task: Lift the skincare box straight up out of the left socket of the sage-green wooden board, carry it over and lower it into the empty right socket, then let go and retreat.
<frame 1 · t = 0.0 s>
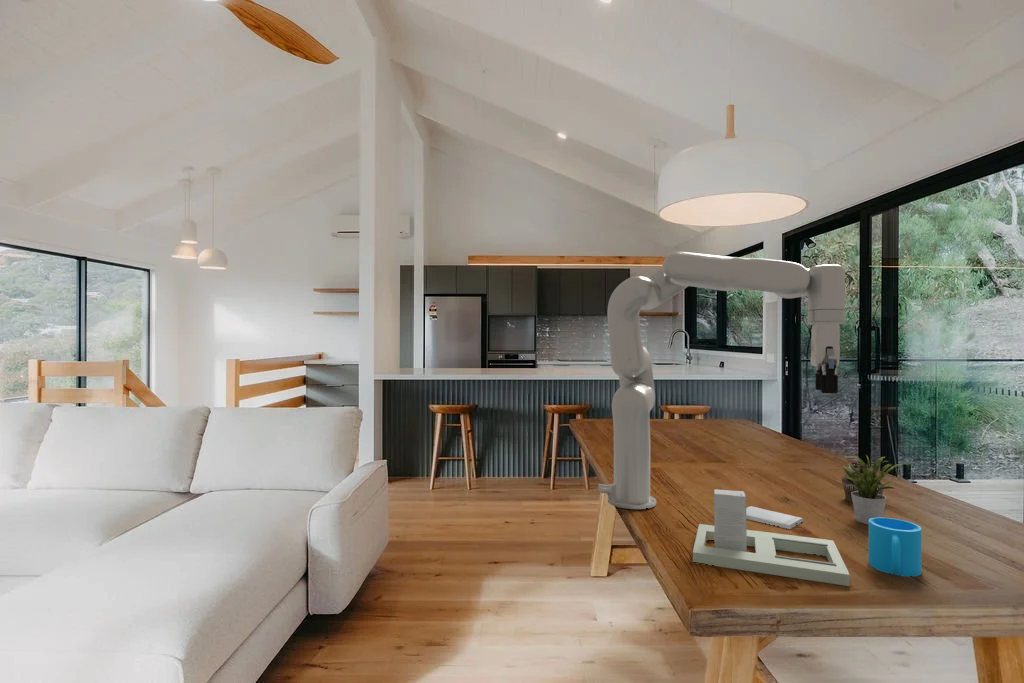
hand: (826, 391, 126), 31 cm above the table, tool pointing down, fingers open, 9 cm apart
socket board: (765, 556, 107), on the table
cupcake: (862, 501, 146), on the table
house plant: (874, 522, 129), on the table
skincare box: (729, 552, 110), resting in socket board
hard drive: (769, 522, 130), on the table
mug: (894, 572, 101), on the table
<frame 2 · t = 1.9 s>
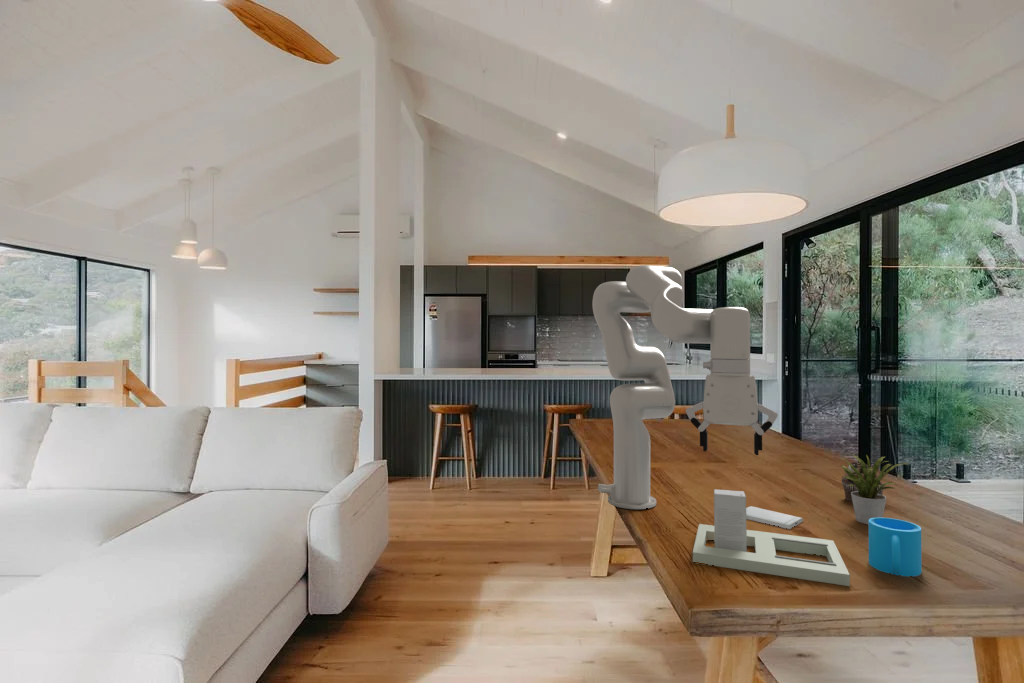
hand: (730, 452, 110), 20 cm above the table, tool pointing down, fingers open, 9 cm apart
nothing on the table moved.
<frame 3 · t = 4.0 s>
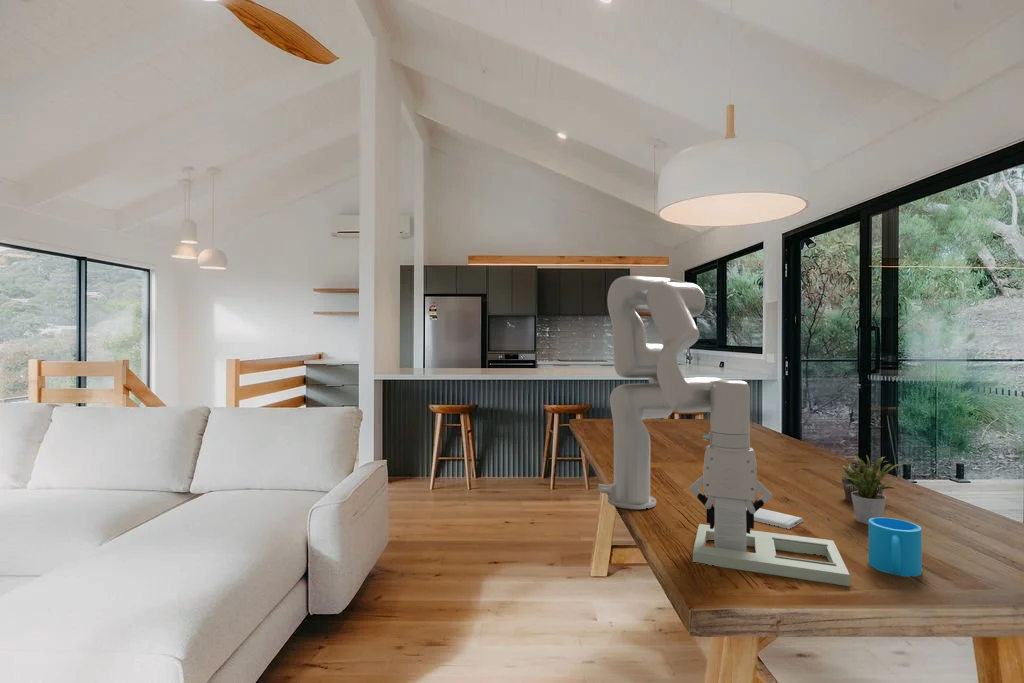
hand: (729, 528, 110), 5 cm above the table, tool pointing down, fingers closed on skincare box, 6 cm apart
skincare box: (729, 552, 110), resting in socket board, touching gripper
everything else where it was.
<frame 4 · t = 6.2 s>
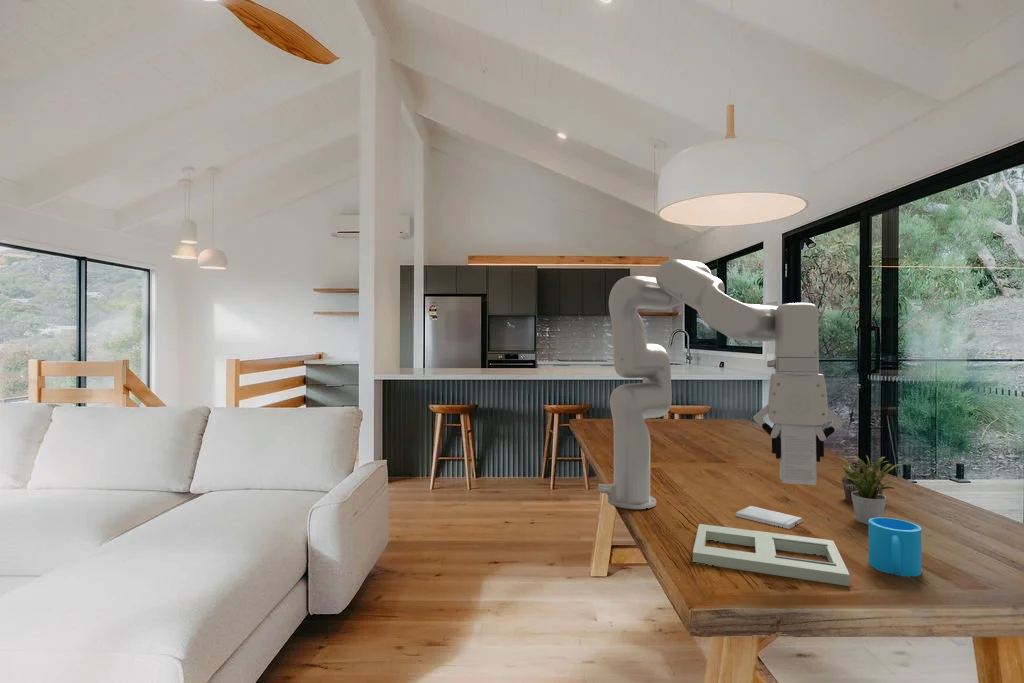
hand: (797, 458, 105), 20 cm above the table, tool pointing down, fingers closed on skincare box, 6 cm apart
skincare box: (797, 483, 105), point 15 cm above the table, touching gripper
everything else where it was.
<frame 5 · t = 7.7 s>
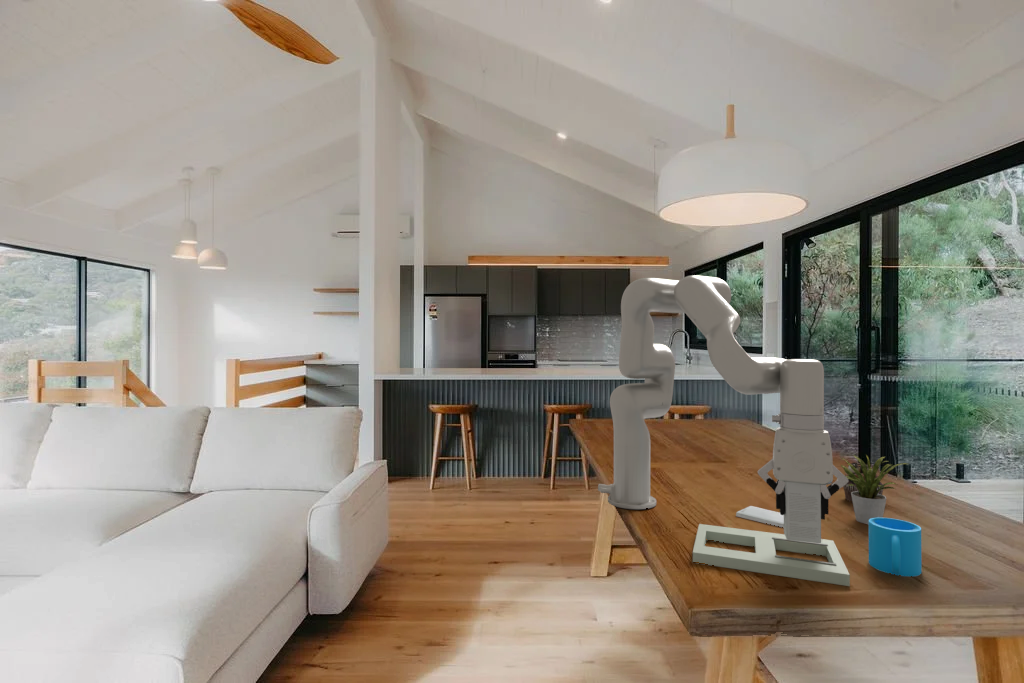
hand: (801, 514, 105), 9 cm above the table, tool pointing down, fingers closed on skincare box, 6 cm apart
skincare box: (801, 539, 105), point 4 cm above the table, touching gripper
everything else where it was.
when the fingers open (5 cm above the table, at t = 8.9 s): skincare box stays where it is, resting in socket board.
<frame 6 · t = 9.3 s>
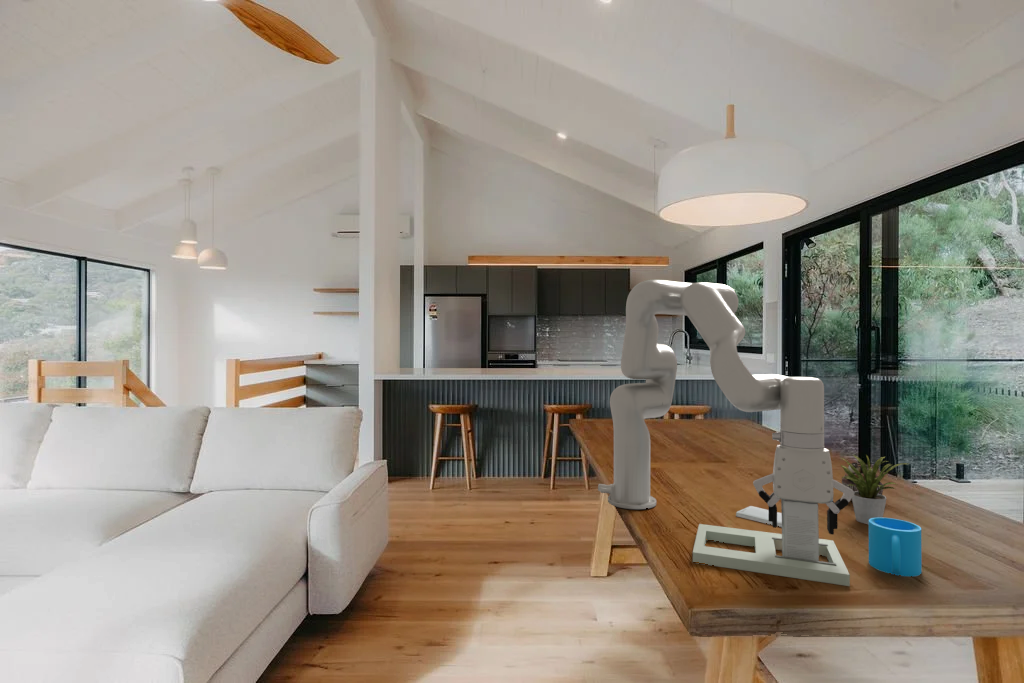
hand: (802, 528, 105), 6 cm above the table, tool pointing down, fingers open, 9 cm apart
skincare box: (799, 562, 105), resting in socket board
everything else where it was.
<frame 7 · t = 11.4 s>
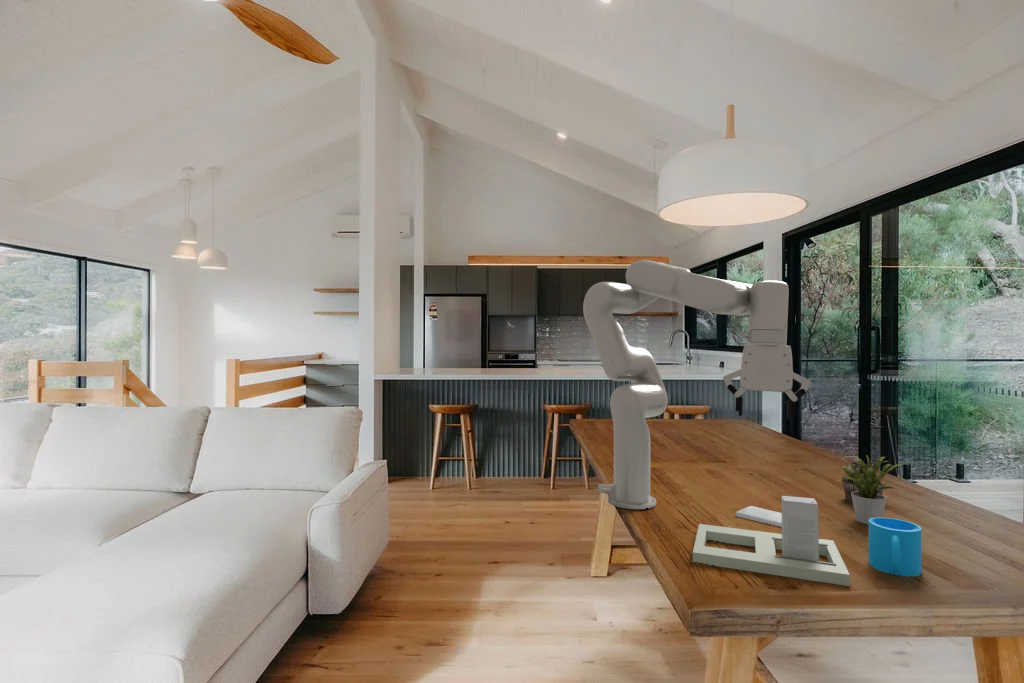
hand: (764, 417, 117), 26 cm above the table, tool pointing down, fingers open, 9 cm apart
nothing on the table moved.
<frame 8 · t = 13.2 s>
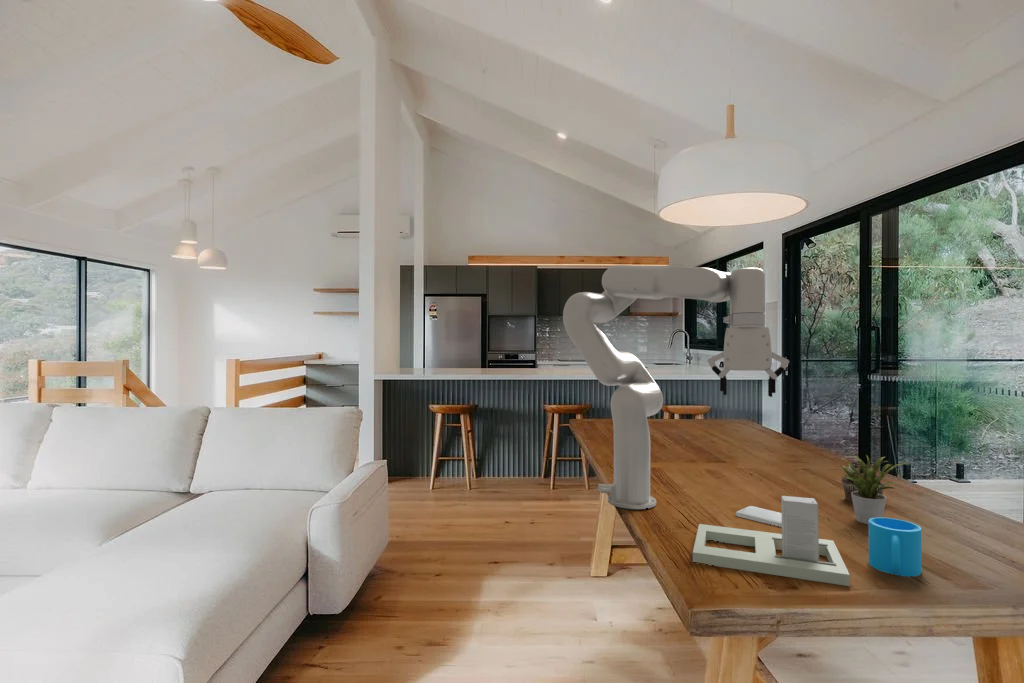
hand: (747, 395, 125), 30 cm above the table, tool pointing down, fingers open, 9 cm apart
nothing on the table moved.
at the end: skincare box 0.4 cm from the target spot on the socket board, point 0.0 cm above the socket board's base; skincare box touching table; skincare box tilted 0° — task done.
